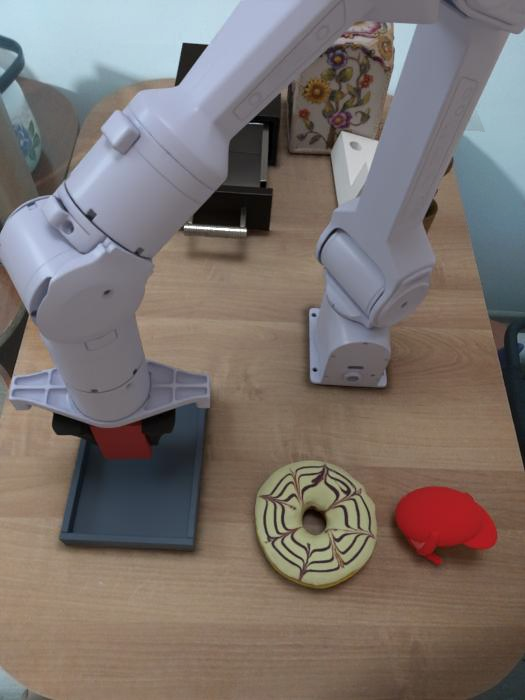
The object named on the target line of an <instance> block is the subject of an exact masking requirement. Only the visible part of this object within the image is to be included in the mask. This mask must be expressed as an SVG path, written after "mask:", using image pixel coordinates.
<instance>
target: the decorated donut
mask: <svg viewBox="0 0 525 700" xmlns="http://www.w3.org/2000/svg"><path fill="white" fill-rule="evenodd" d="M255 498H256V499H255V505H254V517H255V518H254V523H255V525H254V526H255V531H256V537H257V540H258V542H259V545H260V547H261V549H262V551H263V553H264V556H265V557H266V559H267V561H268V562H269V563H270V564H271V566H272V567H273V569H274V570H275V571H276V572H277V573H279V574H280V575H281V576H283V577H284V578H286V579H287V580H289V581H291V582H293V583H296V584H298V585H301V586H303V587H306V588H307V587H308V588H313V589H328V588H330V587H334V586H336V585H339V584H340V583H342V582H344V581H347V580H348V579H349V578H352V577H353V576H354V575H355V574H357V573H358V572H359V571H360V570H361V569H363V567H364V566H365V565H366V564H367V563H368V561H369V559H370V557H371V556H372V554H373V552H374V549H375V545H376V542H377V540H378V539H377V536H378V521H377V516H376V510H377V509H376V505H375V503H374V501H373V499H372V498H371V497H370V496H369V495H368V494H367V493H366V488H365V486H364V485H363V484H362V483H360V482H359V481H358V480H357V479H355V478H353V477H352V475H351V474H349V473H348V472H347V471H345V470H344V469H342V468H341V467H340V466H338V465H335V464H333V463H330V462H326V461H320V460H316V459H308V460H299V461H297V462H296V461H294V462H290V463H289V464H286V465H283V466H281V467H279V468H278V469H276V470H275V471H274V472H272V473H271V474H270V475H269V477H268V478H267V479H266V480H265V482H263V484H262V486H261V487H260V488H259V490H258V491H257V494H256V497H255ZM308 510H315V512H319V513H320V514H321V515H322V517H323V518H324V520H325V529H324V530H322V532H320V533H319V534H311V533H309V532H308V531H307V530H306V528H305V526H304V524H303V517H304V514H305V512H306V511H308Z"/></svg>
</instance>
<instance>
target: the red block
mask: <svg viewBox="0 0 525 700" xmlns="http://www.w3.org/2000/svg"><path fill="white" fill-rule="evenodd" d="M89 427H90V429H91V431H92V433H93V435H94V437H95V439H96V441H97V443H98V445H99V447H100V449H101V451H102V453H103V455H104V457H105V459H148V458H152V445H150V444H149V439H148V436H147V435H146V434H142V432H141V430H142V419H141V420H139V421H136V422H133V423H130V424H127V425H124V426H120V427H114V428H102V427H97V426H94V425H91V424H89Z"/></svg>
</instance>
